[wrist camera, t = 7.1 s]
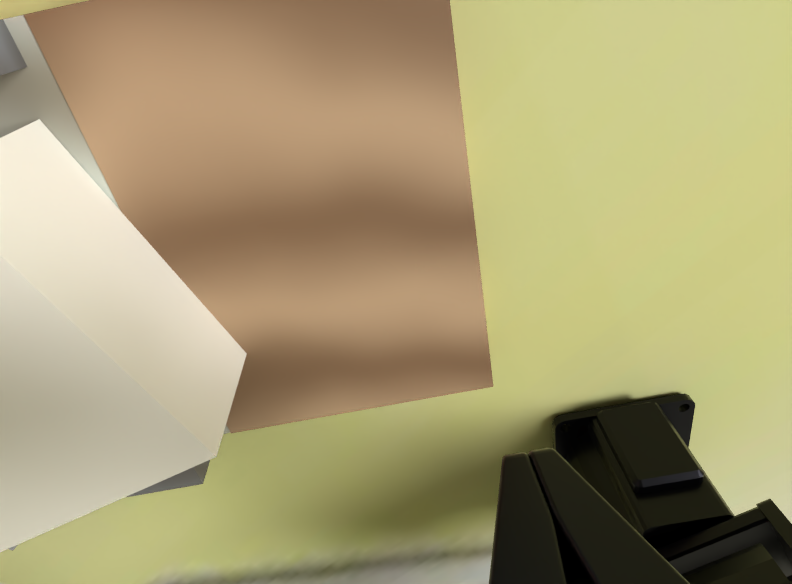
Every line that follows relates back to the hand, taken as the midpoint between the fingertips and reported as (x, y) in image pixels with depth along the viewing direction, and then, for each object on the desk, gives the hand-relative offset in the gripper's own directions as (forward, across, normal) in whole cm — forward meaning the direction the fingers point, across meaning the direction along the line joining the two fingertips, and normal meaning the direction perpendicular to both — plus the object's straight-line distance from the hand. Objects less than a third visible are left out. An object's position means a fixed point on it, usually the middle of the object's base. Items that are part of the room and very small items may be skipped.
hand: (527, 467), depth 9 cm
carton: (+10, +14, +1) cm, 18 cm away
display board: (+12, +10, 0) cm, 16 cm away
